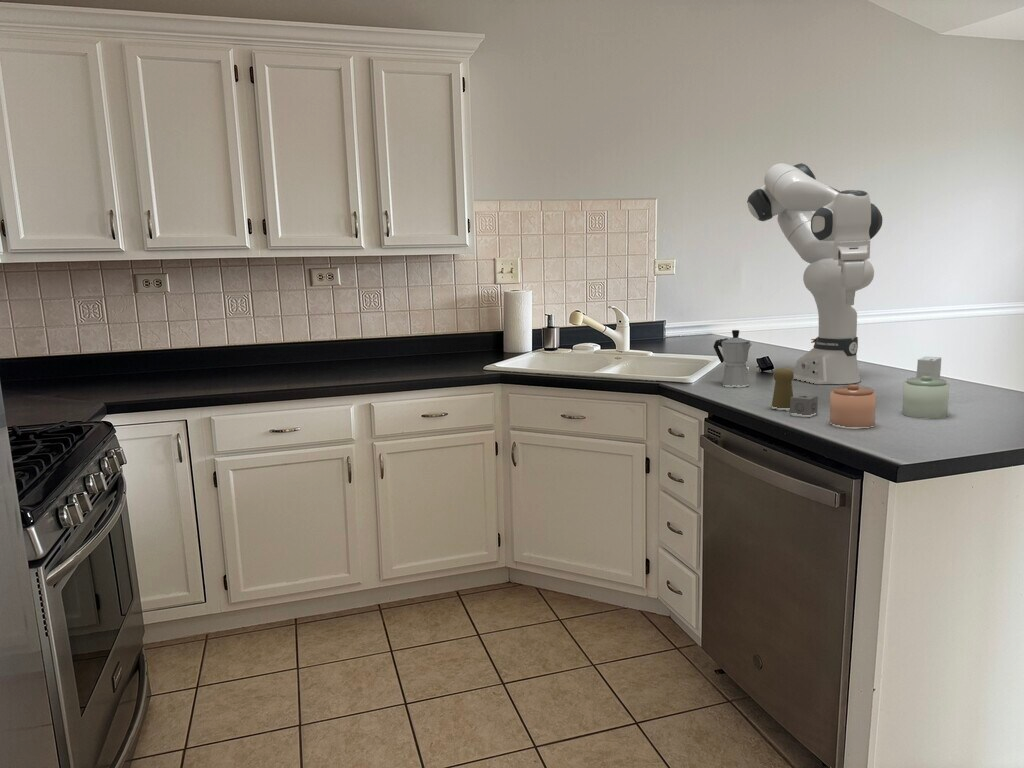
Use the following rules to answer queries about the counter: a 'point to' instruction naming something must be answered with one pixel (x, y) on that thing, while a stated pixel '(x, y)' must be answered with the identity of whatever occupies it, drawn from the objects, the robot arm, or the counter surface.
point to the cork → (782, 388)
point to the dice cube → (804, 404)
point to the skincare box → (929, 367)
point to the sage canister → (925, 397)
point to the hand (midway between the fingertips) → (849, 305)
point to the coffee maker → (734, 359)
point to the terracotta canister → (853, 406)
